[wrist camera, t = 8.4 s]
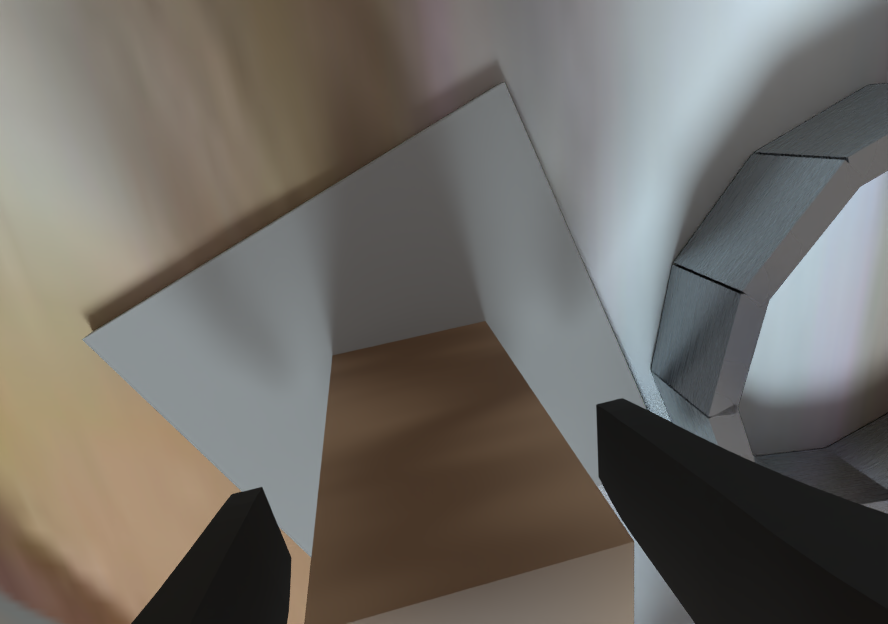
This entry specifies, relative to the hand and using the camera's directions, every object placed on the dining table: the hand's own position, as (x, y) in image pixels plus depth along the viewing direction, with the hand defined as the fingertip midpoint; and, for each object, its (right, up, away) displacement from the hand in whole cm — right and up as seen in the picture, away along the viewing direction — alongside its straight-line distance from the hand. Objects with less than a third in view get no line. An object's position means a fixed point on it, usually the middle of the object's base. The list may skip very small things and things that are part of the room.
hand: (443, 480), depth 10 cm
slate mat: (-1, +1, +3) cm, 3 cm away
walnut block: (-1, +1, +3) cm, 3 cm away
